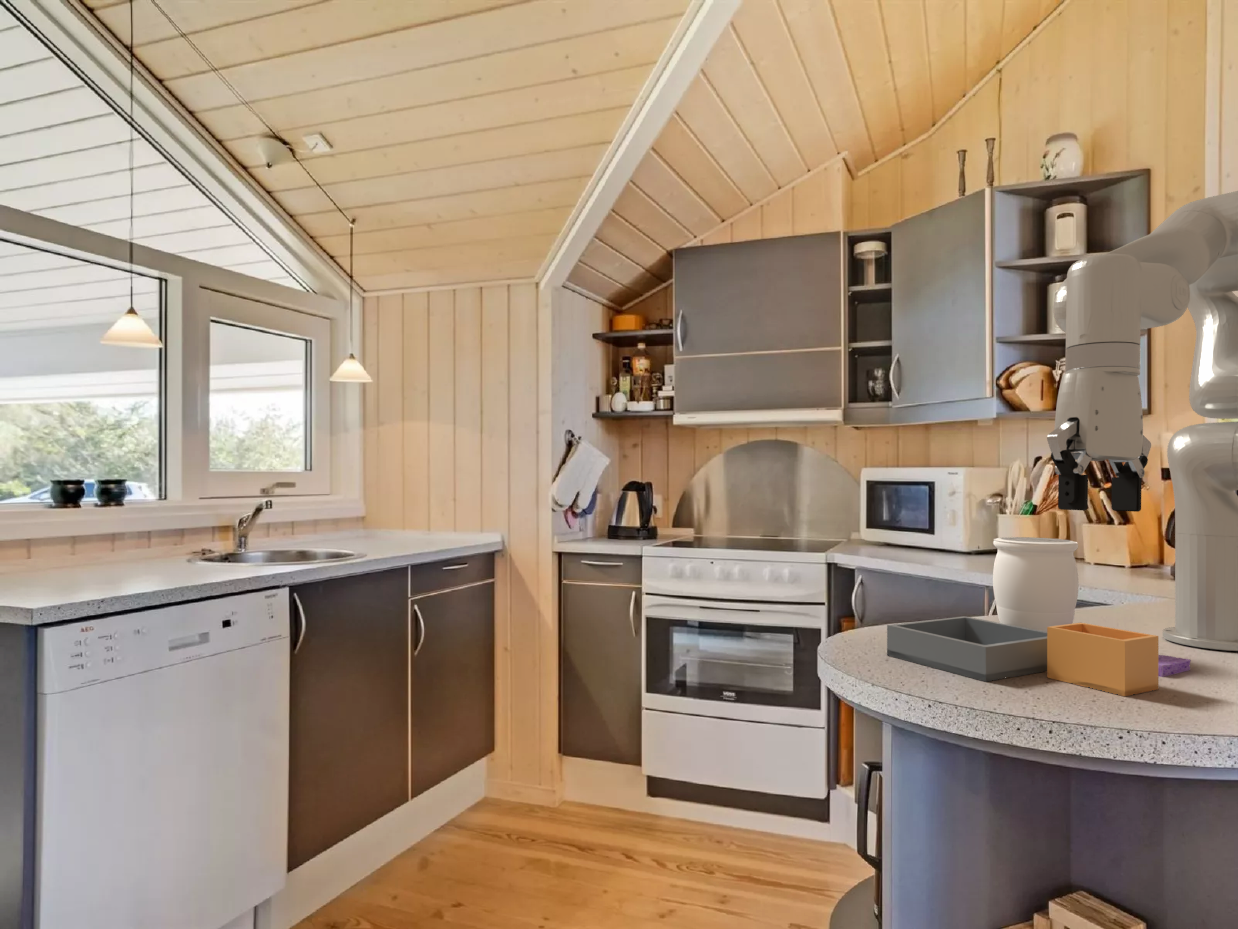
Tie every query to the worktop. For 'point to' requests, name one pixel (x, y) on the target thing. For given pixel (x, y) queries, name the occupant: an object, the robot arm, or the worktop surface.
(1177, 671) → the sponges
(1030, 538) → the jar
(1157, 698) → the worktop surface
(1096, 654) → the small crate
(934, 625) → the grey square tray
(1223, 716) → the worktop surface
